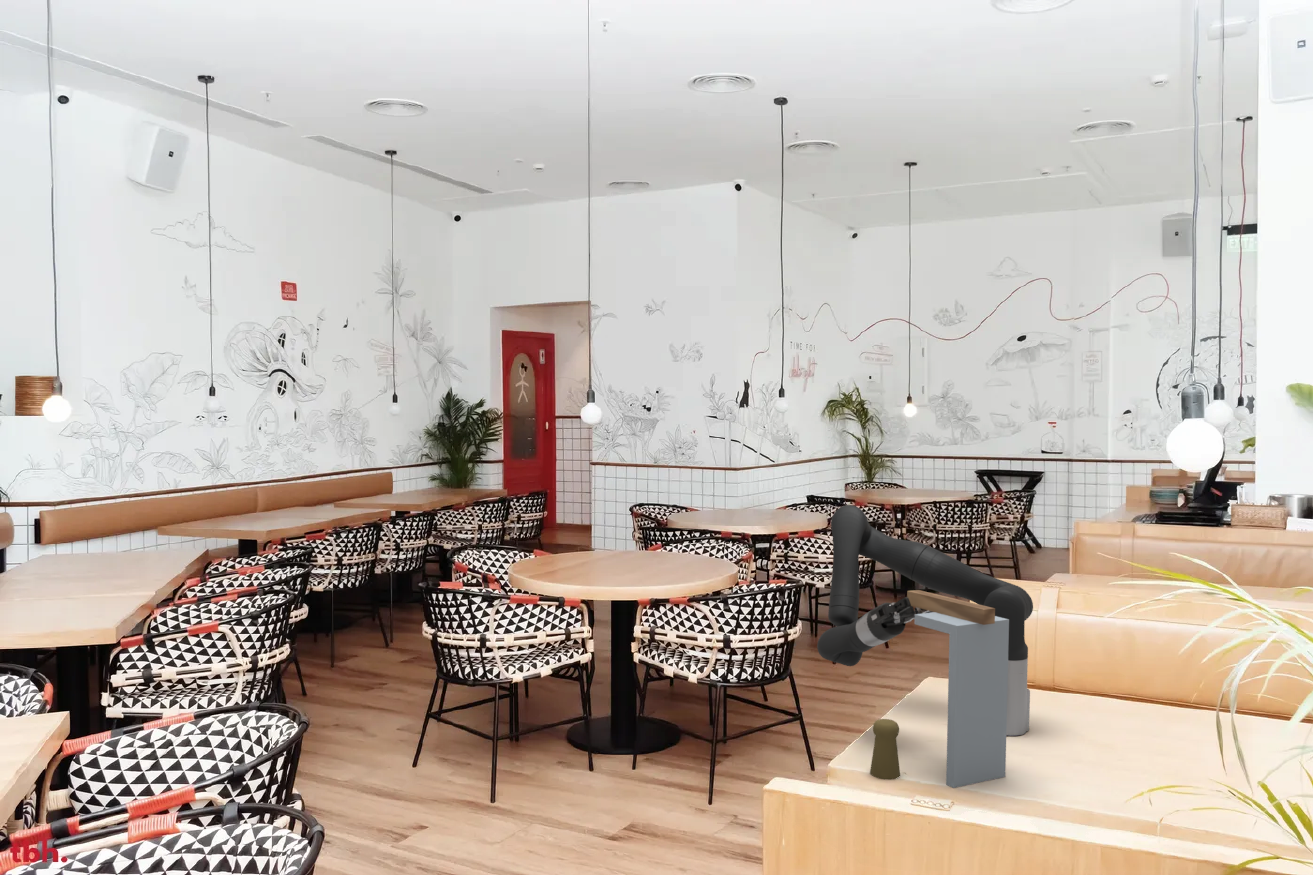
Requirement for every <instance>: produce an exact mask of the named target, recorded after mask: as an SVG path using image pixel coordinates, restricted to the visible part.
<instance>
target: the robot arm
mask: <svg viewBox="0 0 1313 875" xmlns="http://www.w3.org/2000/svg"><path fill="white" fill-rule="evenodd" d="M869 523H870V522H869V520H868V517H867V515H866V514H865V513H864V511H863V510H862V509H861V508H860V507H858V506H856V505H853V504H848V505H847V504H846V505H843V506H840V507H838V508H837V509H836V510H835V512H833V515H832V517H831V520H830V528H831V533H832V534H831V535H832V546H833V548H832V549H833V550H832V551H833V552H832V572H831V582H830V584H831V585H830V593H829V602H828V603H829V604H828V616H827V617H828V620H829V622H830V623H831V624H832V625H834V627H831V628H829V629H827V630H825V631H824V632H823V633H822V634H821V635H820V637H819V639H818V641H817V644H816V648H817V653H818V654H819V655H820V657H822V658H823V659H825V660H827V661H831V662H833V663H836V664H840V665H843V666H845V667H854V666H856V665H857V664H858V663H860V661H861V659H862V657H863V653H864V652H867V651H869V650H870V649H873V648H875V647H877V646H879V645H883V644H884V643H887V642H888V641H889V640H892V639H894V638H895V637H897V636H899V635H901V634H902V633H903V632H904V630H905V628H906V624H907V623H910V622H912V620H915V614H923V613H932V612H933V611H929V610H925V609H921V608H917V607H913V606H911V604H910V601H909V598H908V597H907V596H905V597H903V598H901V599H899V600H897V601H896V602H883V603H881V604H880V605H878V606H876V607H874V608H873V609H871V610H870V611H868V612H865V614H864V615H862V616H861V617H860V618H858V617H859V609H860V608H859V607H860V606H859V605H860V574H859V558H860V557H859V556H861V557H865V558H868V559H869V560H872V561H874V562H877V563H880V564H881V565H884V566H885V567H887V568H889V569H890V570H892V571H894V572H895V573H898V574H900V575H902V576H904V577H906V578H907V579H909V580H912V581H914V582H915V583H917V584H919V585H920V586H922V587H925V588H927V589H929V590H932V591H935V592H938V593H936V594H937V595H940V594H939V593H942V594H945V595H946V594H947V595H950V596H954V597H959V598H962V599H966V600H968V601H970V602H972V603H975V604H979V605H983V606H987V607H991V608H995V616H997V617H1001V618H1005V619H1009V644H1008V686H1007V728H1006V736H1009V737H1010V736H1011V737H1012V736H1022V735H1024V734H1026V733H1027V732H1028V731H1030V715H1031V714H1030V708H1031V706H1030V704H1031V703H1030V702H1031V690H1030V689H1029V688H1028V665H1029V664H1028V661H1029V660H1028V658H1029V647H1028V645H1027V643H1026V640H1025V639H1026V638H1025V626H1026V625H1025V622H1026V621H1027V620H1028V619H1029V618H1030V617H1031V615H1032V613H1033V610H1034V602H1033V600H1032V597H1031V595H1030V594H1029V593H1028V592H1027V591H1026V589H1024V588H1022V587H1021V586H1018V585H1016V584H1013V583H1011V582H1008V581H1004V580H1001V579H998V578H996V577H994V576H991V575H988V574H986V573H982V572H981V571H979V570H976V569H975V568H973V567H971V566H969V565H968V564H966V563H964V562H962V561H961V560H960V561H959V560H958V559H956V558H954V557H951V556H950V555H948V554H946V553H944V552H942V551H940V550H939V549H936V548H933V547H931V546H929V545H928V544H925V543H922V542H918V541H913V540H905V539H900V538H895V537H891V536H889V535H887V534H885V533H883V532H881V531H880V530H878V529H876V528H875V527H873V526H871V525H870V524H869Z"/></svg>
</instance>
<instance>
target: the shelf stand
mask: <svg viewBox="0 0 1313 875" xmlns="http://www.w3.org/2000/svg"><path fill="white" fill-rule="evenodd" d="M914 625H917V626H920V627H923V628H926V629H930V630H934V631H938V632H941V633H945V634H949V636H948V637H949V643H948V644H949V645H948V681H947V682H948V683H947V684H948V686H947V689H948V690H947V728H946V729H947V730H946V731H947V733H946V736H947V737H946V778H945V781H946V782H945V784H946V785H945V786H949V787H950V788H953V789H957V788H959V787H960V788H961V787H965V786H969V785H974V784H978V783H984V782H986V781H992V780H996V779H1000V778H1006V769H1007V767H1006V763H1007V760H1006V758H1007V735H1006V728H1007V686H1008V644H1009V619H1005V618H1001V617H997V616H995V624H987V625H982V624H978V623H975V622H971V621H967V620H963V619H959V618H955V617H952V616H948V615H944V614H940V613H936V612H932V613H923V614H915V619H914Z"/></svg>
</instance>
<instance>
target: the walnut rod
mask: <svg viewBox="0 0 1313 875" xmlns="http://www.w3.org/2000/svg"><path fill="white" fill-rule="evenodd" d="M906 594H907V595H906V597H908V598H909V601H910V604H911V606H913V608H916V607H917V608H921V609H925V610H929V611H933V612H936V613H940V614H944V615H948V616H952V617H955V618H959V619H963V620H967V621H971V622H975V623H978V624H982V625H987V624H995V608H991V607H987V606H983V605H979V604H977V603H975V602H972V601H966V600H961V599H957V598H953V597H950V596H946V595H945V596H944V595H941V594H939V595H937V594H938V593H933V592H927V591H924V590H920V589H915V590H914V589H913V590H907V593H906Z"/></svg>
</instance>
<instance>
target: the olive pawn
mask: <svg viewBox="0 0 1313 875" xmlns="http://www.w3.org/2000/svg"><path fill="white" fill-rule="evenodd" d="M872 731H873V735H874V736H875V738H874V744H873V745H874V746H873V750H872V757H871V763H870V768H869V774H870V775H871V776H872V777H873V778H876V779H880V780H897V779H898V778H897V777H899V776H900V777H901V769H900V762H899V761H900V760H899V752H898V751H899V750H898V744H897V737H898V735H899V733H900V726H899V724H898V723H897V721H895V720H892V719H889V718H888V719H887V718H880V719H876V720H875V721H874V723H873V725H872ZM900 777H899V778H900ZM896 778H897V779H896Z"/></svg>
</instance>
